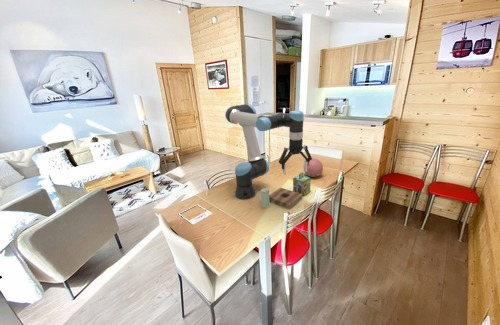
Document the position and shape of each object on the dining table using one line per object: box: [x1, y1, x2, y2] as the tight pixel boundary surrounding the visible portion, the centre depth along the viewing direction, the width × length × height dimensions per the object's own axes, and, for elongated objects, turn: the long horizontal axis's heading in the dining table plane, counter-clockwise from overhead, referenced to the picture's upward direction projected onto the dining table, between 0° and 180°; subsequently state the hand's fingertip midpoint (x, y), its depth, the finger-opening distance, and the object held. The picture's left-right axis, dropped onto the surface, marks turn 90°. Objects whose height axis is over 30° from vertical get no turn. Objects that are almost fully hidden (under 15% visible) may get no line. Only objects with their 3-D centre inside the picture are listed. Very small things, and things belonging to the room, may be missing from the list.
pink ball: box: [303, 158, 324, 178], centre depth 176 cm, size 15×20×15 cm
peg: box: [259, 187, 271, 209], centre depth 138 cm, size 4×4×12 cm
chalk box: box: [292, 172, 312, 197], centre depth 151 cm, size 9×9×15 cm
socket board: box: [269, 187, 303, 210], centre depth 145 cm, size 18×16×4 cm
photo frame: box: [178, 203, 214, 226], centre depth 137 cm, size 15×1×18 cm
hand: (295, 172), depth 128 cm, fingers open, 13 cm apart
